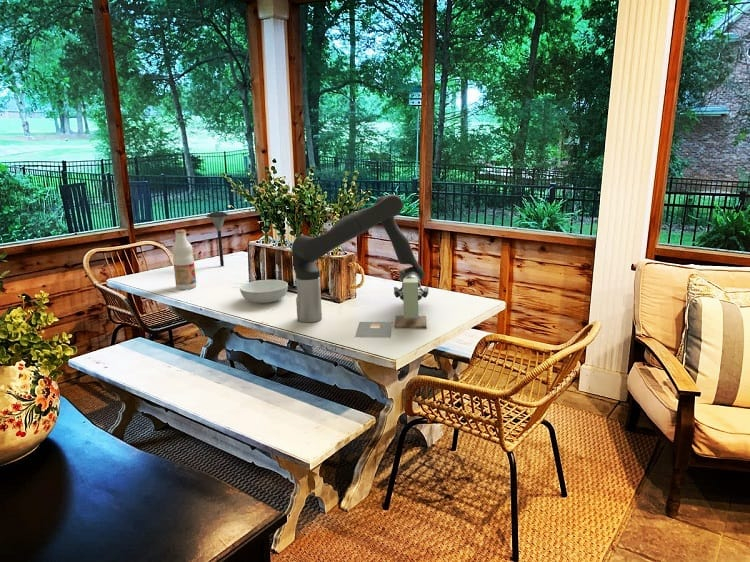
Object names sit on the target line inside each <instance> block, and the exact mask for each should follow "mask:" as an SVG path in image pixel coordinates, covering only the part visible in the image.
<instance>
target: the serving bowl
mask: <svg viewBox="0 0 750 562" xmlns="http://www.w3.org/2000/svg"><path fill="white" fill-rule="evenodd" d="M288 288H289V285H288V282H287V281H284V280H280V279H259V280H254V281H249V282H246V283H244V284H242V285H241V286H240V287H239V291H240V294H241V295H242V297H243V298H244V299H245V300H246V301H248V302H252V303H256V304H257V303H258V304H269V303H273V302H275V301H279V300H280V299H282V298H284V297H285V296H286V294H287V291H288V290H289V289H288Z"/></svg>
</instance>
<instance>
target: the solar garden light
mask: <svg viewBox="0 0 750 562" xmlns="http://www.w3.org/2000/svg"><path fill="white" fill-rule="evenodd" d="M228 216H230V214H228V213H226V212H224V211H211V212H210V213H208V215H206V218H210V220H211V221H212V224H213V225H214V227H215V229H216V231H217V239H218V241H217V242H218V251H219V252H218V253H219V261H220V262H219V263H220V267H221V266H223V267H224V266H225V265H224V253H223V242H222V241H223V240H222V231H221V230H222V229H223V226H224V222H225V220H226V217H228Z"/></svg>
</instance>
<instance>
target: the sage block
mask: <svg viewBox="0 0 750 562" xmlns="http://www.w3.org/2000/svg"><path fill="white" fill-rule="evenodd" d="M402 301H403V304H402V305H403V316H404V318H418V316H419V300H418V279H404V281H403V300H402Z"/></svg>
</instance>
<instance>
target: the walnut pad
mask: <svg viewBox="0 0 750 562" xmlns="http://www.w3.org/2000/svg"><path fill="white" fill-rule="evenodd" d="M427 328H428V327H427V316H426V315H418V318H404V315H395V320H394V329H416V330H417V329H421V330H422V329H425V330H426V329H427Z"/></svg>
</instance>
